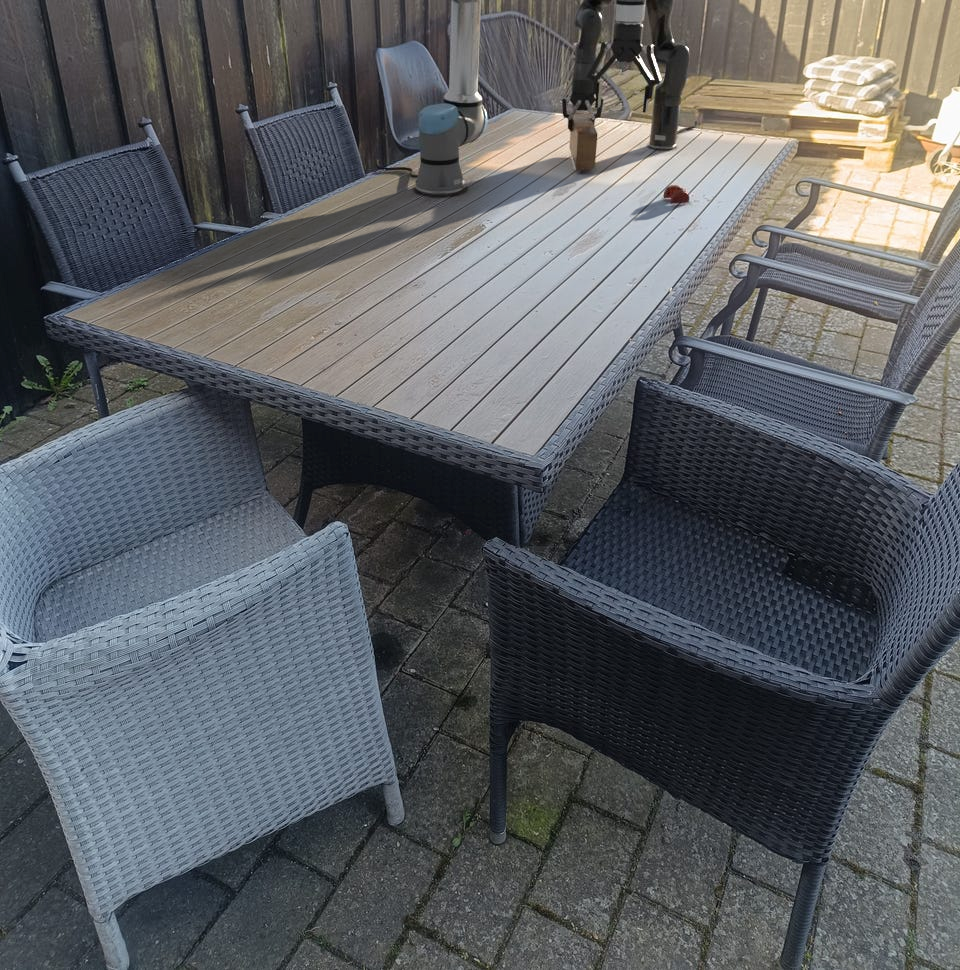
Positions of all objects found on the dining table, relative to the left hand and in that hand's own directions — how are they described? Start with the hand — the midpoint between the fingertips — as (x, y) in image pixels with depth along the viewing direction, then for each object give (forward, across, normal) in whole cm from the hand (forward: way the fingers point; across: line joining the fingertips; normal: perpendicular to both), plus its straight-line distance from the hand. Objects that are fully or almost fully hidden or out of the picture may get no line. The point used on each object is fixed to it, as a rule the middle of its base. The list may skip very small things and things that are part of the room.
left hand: (621, 109), depth 233 cm
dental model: (+26, -17, -9) cm, 32 cm away
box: (+24, +22, -37) cm, 50 cm away
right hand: (+18, +26, -46) cm, 55 cm away
